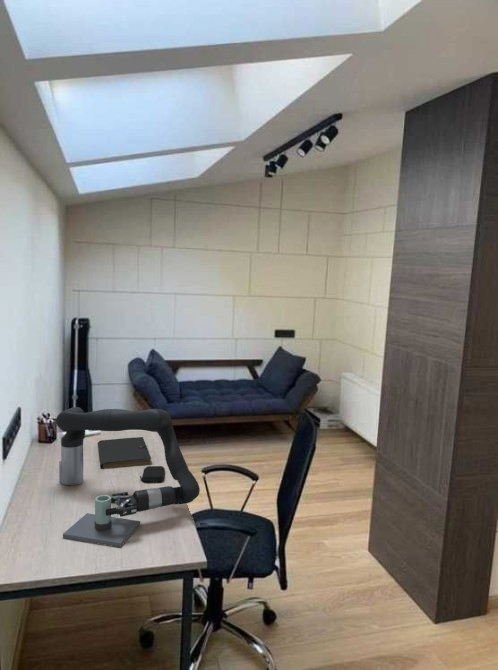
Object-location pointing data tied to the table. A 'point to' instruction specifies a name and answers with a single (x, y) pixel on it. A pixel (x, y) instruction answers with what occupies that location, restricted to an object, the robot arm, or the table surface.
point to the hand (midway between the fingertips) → (103, 507)
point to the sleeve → (102, 513)
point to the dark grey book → (123, 452)
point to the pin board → (113, 536)
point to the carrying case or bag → (153, 474)
